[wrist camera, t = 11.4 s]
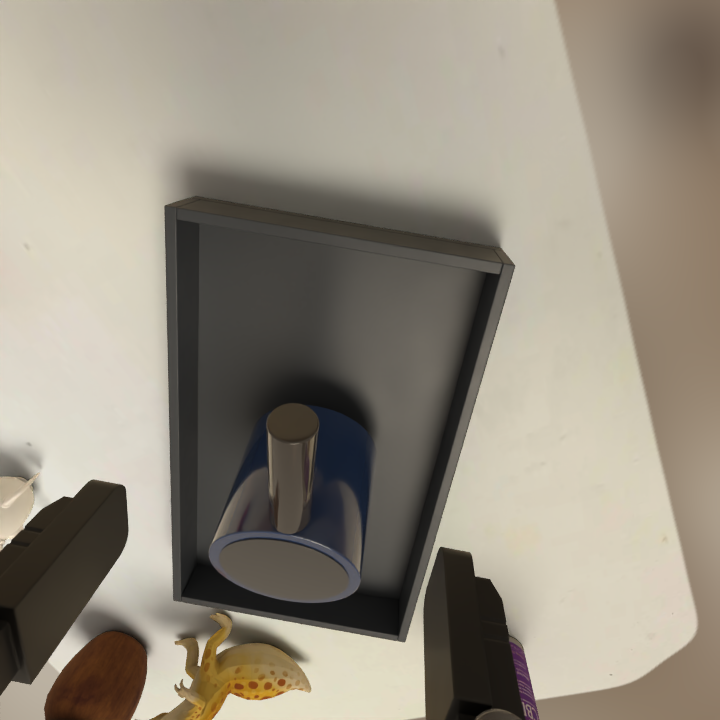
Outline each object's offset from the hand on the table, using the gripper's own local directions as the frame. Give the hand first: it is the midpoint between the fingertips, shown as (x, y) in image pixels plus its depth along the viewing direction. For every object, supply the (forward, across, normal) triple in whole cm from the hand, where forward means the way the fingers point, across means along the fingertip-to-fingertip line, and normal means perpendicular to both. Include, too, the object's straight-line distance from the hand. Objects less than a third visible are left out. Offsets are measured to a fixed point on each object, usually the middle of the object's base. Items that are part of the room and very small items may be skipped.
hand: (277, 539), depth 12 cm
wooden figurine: (+19, +16, +36) cm, 44 cm away
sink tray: (+19, +1, +9) cm, 21 cm away
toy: (+19, +5, +32) cm, 37 cm away
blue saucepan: (+15, +1, +6) cm, 17 cm away
